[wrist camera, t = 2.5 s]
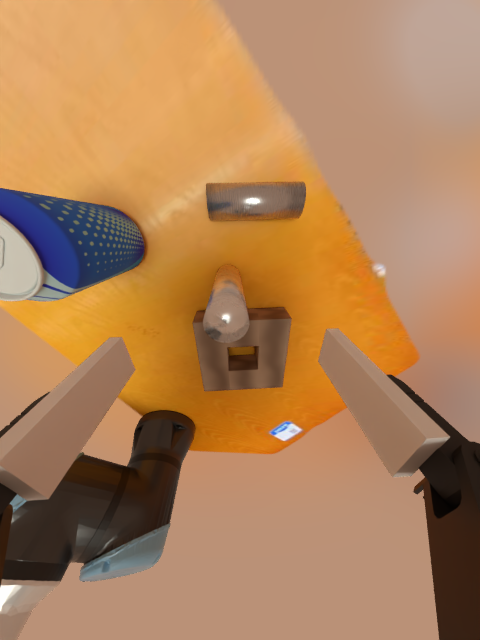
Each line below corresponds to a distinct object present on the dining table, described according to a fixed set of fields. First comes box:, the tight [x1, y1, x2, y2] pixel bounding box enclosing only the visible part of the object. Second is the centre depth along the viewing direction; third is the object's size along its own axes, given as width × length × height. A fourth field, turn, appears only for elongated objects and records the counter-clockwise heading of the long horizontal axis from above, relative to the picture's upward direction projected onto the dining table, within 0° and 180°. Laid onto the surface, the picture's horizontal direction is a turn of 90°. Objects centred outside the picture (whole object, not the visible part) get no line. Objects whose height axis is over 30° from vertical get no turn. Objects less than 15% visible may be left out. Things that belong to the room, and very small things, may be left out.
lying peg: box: [206, 182, 306, 221], centre depth 23 cm, size 12×4×4 cm, turn 91°
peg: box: [203, 265, 249, 343], centre depth 22 cm, size 4×4×16 cm
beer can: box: [0, 188, 144, 301], centre depth 19 cm, size 8×8×16 cm
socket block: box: [193, 307, 291, 391], centre depth 34 cm, size 16×16×4 cm
